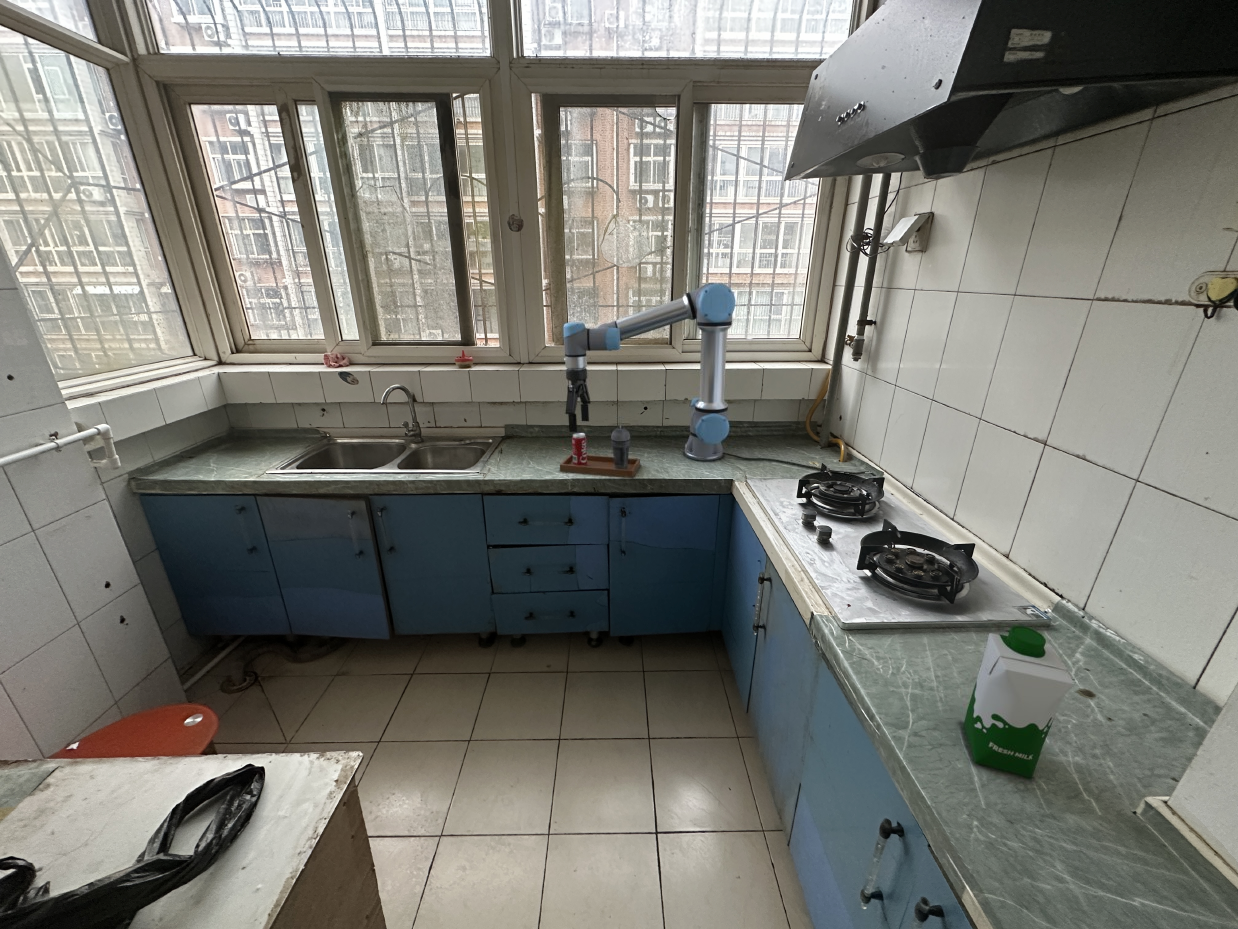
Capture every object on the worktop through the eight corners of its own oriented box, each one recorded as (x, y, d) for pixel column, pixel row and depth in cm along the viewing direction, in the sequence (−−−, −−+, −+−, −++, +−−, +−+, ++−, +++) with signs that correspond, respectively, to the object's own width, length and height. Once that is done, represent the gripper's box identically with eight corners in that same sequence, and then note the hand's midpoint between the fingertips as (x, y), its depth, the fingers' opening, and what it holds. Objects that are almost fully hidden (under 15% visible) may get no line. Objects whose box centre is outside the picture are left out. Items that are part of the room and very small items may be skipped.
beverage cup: (631, 465, 187) (631, 413, 180) (630, 472, 180) (629, 419, 173) (612, 464, 188) (611, 413, 181) (610, 471, 181) (609, 418, 174)
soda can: (585, 461, 191) (583, 431, 187) (588, 466, 187) (587, 435, 182) (571, 463, 190) (570, 433, 185) (575, 468, 185) (573, 437, 181)
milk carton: (1020, 735, 78) (1059, 631, 71) (1042, 787, 70) (1089, 676, 63) (955, 719, 81) (986, 617, 74) (969, 767, 73) (1006, 659, 66)
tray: (640, 465, 189) (640, 458, 188) (632, 477, 177) (632, 471, 176) (571, 459, 195) (571, 453, 194) (560, 471, 184) (559, 464, 183)
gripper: (577, 362, 187) (580, 416, 195) (553, 374, 165) (557, 435, 172) (596, 362, 185) (599, 417, 193) (574, 375, 163) (578, 437, 170)
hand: (579, 426), depth 183 cm, fingers open, 13 cm apart
